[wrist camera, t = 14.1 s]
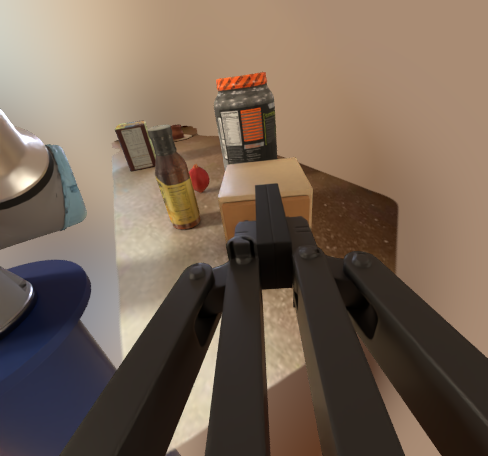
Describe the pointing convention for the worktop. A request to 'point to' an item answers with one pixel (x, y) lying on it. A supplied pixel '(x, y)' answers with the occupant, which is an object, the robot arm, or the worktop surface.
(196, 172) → the onion
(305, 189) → the cabinet
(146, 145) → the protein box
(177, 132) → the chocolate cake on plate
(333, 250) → the worktop surface
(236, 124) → the supplement tub
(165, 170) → the sauce bottle
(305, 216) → the drawer
